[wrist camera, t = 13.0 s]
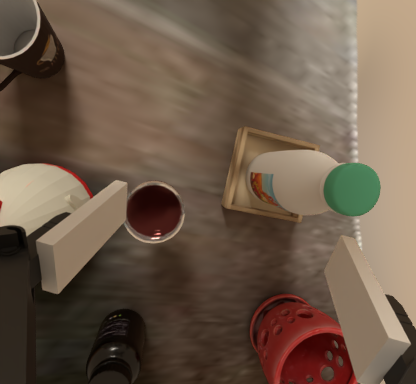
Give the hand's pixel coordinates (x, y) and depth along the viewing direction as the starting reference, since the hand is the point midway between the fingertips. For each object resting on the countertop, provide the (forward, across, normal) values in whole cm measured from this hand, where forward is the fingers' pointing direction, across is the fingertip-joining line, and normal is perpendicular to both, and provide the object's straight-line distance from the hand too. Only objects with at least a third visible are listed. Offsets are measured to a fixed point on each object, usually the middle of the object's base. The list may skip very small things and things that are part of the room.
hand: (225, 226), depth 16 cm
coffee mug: (+21, -31, +4) cm, 37 cm away
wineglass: (+21, -11, -11) cm, 26 cm away
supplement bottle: (+13, -12, -31) cm, 35 cm away
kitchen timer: (+15, -26, -15) cm, 33 cm away
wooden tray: (+27, +4, -6) cm, 28 cm away
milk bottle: (+26, +4, -6) cm, 28 cm away
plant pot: (+21, +13, -29) cm, 38 cm away
